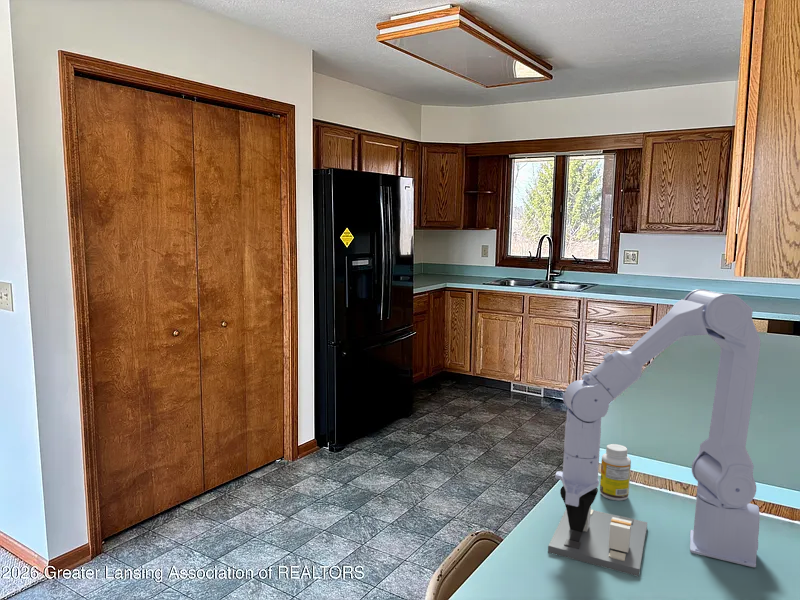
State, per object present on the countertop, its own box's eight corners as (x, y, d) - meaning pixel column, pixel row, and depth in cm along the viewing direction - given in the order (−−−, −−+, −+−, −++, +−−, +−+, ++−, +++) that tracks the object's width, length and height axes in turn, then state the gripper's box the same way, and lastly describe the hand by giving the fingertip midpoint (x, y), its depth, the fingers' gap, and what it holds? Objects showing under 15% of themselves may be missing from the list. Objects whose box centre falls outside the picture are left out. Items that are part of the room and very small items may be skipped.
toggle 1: (589, 524, 102) (591, 501, 102) (586, 531, 100) (588, 508, 99) (572, 520, 104) (573, 497, 103) (569, 527, 101) (570, 504, 101)
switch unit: (646, 528, 105) (647, 521, 104) (638, 576, 90) (639, 568, 89) (567, 510, 111) (568, 503, 111) (547, 552, 96) (548, 544, 96)
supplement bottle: (604, 487, 122) (608, 440, 121) (632, 495, 118) (635, 446, 117) (595, 496, 118) (598, 447, 116) (623, 504, 114) (626, 454, 113)
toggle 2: (629, 544, 96) (631, 520, 96) (628, 552, 93) (629, 527, 93) (610, 539, 97) (612, 515, 97) (608, 547, 95) (610, 523, 94)
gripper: (565, 435, 106) (561, 506, 107) (548, 462, 93) (543, 542, 94) (606, 442, 103) (601, 515, 104) (593, 471, 90) (588, 554, 91)
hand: (576, 529), depth 99 cm, fingers closed
